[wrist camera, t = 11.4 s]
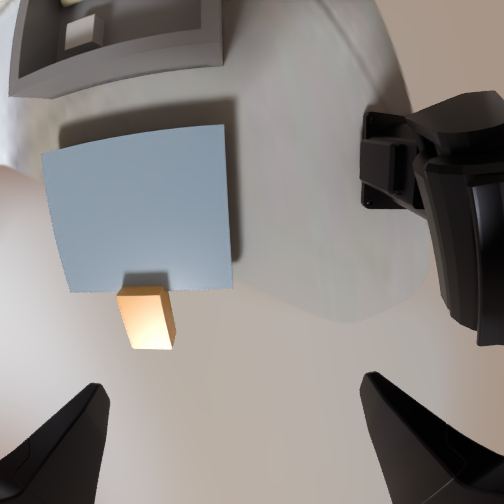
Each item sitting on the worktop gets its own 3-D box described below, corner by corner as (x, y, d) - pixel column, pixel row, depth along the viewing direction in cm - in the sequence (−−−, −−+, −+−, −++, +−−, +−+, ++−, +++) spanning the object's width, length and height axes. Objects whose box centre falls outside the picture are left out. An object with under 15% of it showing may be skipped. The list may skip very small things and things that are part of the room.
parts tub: (221, -51, 11) (219, -91, 6) (223, 66, 15) (219, 42, 10) (63, -13, 10) (30, -35, 6) (52, 99, 14) (8, 96, 10)
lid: (224, 125, 16) (223, 123, 14) (236, 321, 22) (237, 347, 19) (55, 151, 16) (30, 156, 13) (94, 322, 21) (81, 345, 19)
